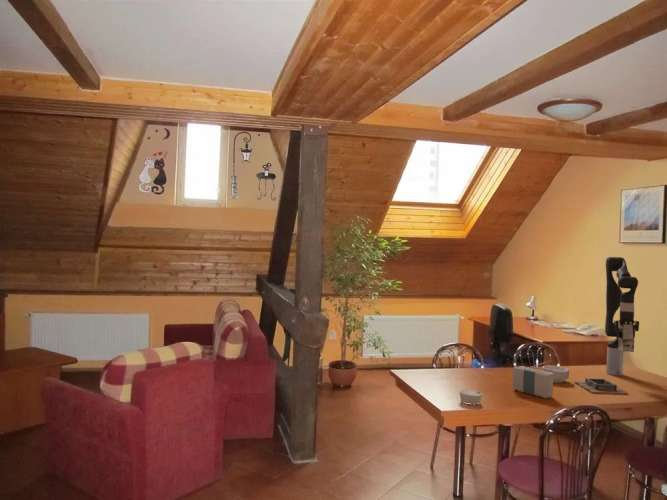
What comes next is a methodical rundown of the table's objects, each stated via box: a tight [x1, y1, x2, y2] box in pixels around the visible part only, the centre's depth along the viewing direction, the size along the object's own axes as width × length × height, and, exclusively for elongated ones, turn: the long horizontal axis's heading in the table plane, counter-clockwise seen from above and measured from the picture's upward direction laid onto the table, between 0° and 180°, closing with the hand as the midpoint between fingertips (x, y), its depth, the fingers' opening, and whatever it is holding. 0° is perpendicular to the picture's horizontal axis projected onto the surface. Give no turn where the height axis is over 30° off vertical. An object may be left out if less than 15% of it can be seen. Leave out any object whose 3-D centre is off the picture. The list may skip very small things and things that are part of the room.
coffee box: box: [618, 323, 636, 353], centre depth 318 cm, size 9×6×16 cm
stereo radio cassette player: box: [512, 359, 554, 399], centre depth 293 cm, size 21×8×20 cm, turn 37°
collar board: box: [574, 377, 629, 396], centre depth 308 cm, size 22×20×4 cm
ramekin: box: [459, 389, 483, 404], centre depth 274 cm, size 11×11×5 cm
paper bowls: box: [541, 365, 570, 384], centre depth 323 cm, size 15×15×8 cm
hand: (626, 338), depth 318 cm, fingers closed on coffee box, 7 cm apart
